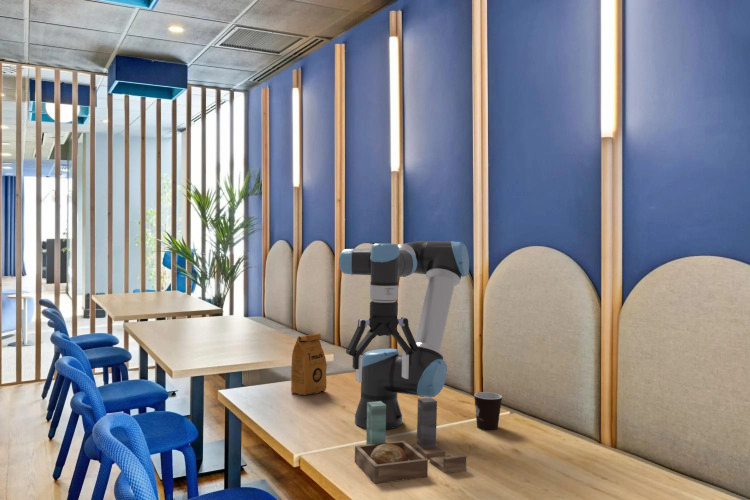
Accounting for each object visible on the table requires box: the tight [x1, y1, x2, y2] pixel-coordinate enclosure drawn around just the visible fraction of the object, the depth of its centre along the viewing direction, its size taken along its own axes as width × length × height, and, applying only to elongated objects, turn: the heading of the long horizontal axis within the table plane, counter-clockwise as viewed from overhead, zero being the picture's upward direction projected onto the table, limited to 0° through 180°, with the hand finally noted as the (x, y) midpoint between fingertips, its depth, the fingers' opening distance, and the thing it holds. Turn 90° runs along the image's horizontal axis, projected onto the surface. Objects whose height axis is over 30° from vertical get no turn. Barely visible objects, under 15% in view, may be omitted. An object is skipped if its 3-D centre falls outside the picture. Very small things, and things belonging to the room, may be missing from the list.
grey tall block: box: [412, 397, 447, 459], centre depth 169 cm, size 8×6×14 cm
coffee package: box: [290, 332, 327, 396], centre depth 230 cm, size 10×12×22 cm
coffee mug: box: [473, 391, 503, 431], centre depth 194 cm, size 12×9×10 cm
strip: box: [429, 454, 467, 475], centre depth 159 cm, size 8×6×4 cm
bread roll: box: [370, 444, 408, 464], centre depth 156 cm, size 10×10×8 cm
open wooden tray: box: [354, 401, 429, 485], centre depth 159 cm, size 20×14×14 cm
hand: (382, 379), depth 165 cm, fingers open, 13 cm apart
